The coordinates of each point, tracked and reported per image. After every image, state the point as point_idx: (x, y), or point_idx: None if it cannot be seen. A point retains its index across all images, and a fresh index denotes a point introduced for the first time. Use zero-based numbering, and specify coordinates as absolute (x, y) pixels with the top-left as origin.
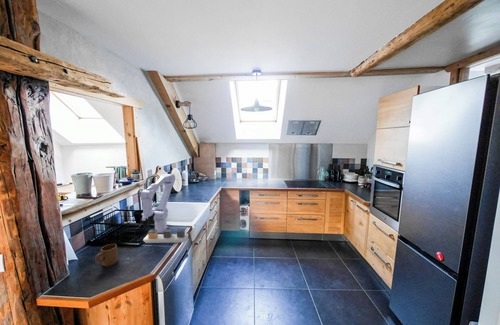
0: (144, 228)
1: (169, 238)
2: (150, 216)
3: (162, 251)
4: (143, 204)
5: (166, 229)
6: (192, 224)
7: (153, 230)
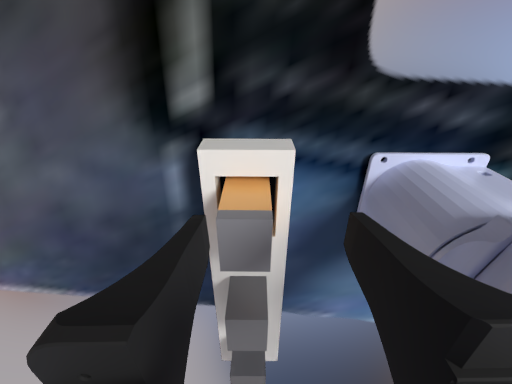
0: (189, 220)
1: (222, 304)
2: (408, 342)
3: None
4: None
5: (263, 328)
6: None
7: (248, 252)
